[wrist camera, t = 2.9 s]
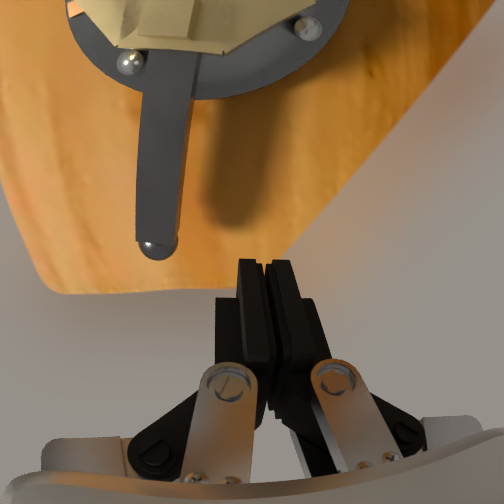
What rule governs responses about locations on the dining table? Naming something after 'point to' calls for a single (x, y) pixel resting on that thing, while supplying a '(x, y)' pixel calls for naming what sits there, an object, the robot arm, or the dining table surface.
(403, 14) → the dining table surface
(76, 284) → the dining table surface
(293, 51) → the cap plate
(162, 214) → the castle nut fixture
